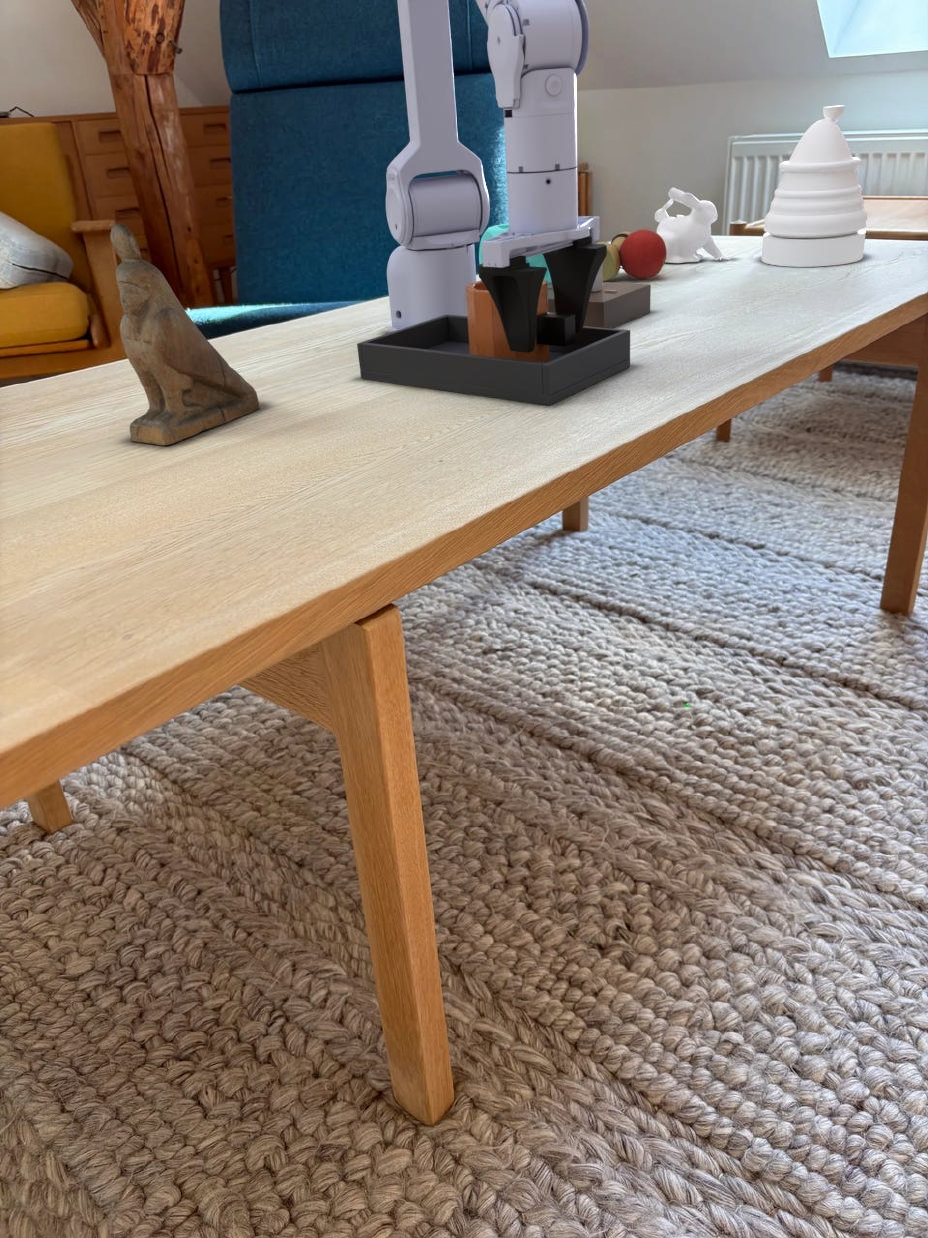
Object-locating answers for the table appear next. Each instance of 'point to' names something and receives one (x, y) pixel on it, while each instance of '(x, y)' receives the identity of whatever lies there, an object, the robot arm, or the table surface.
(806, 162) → the honey pot
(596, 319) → the panel
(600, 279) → the grey block with red
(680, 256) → the rabbit figurine
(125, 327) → the worn brown figurine
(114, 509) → the table surface
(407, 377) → the dark grey tray
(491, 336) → the pot
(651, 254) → the kendama
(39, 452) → the table surface
